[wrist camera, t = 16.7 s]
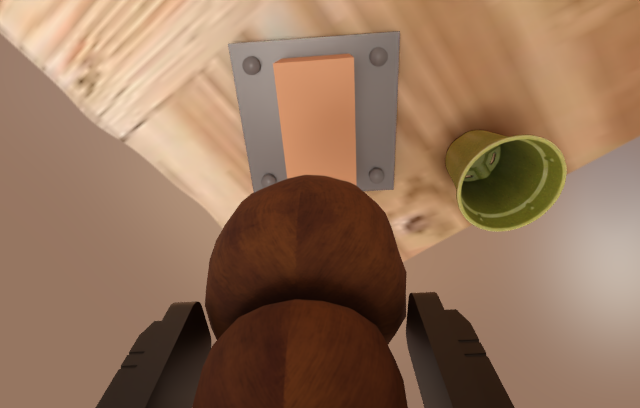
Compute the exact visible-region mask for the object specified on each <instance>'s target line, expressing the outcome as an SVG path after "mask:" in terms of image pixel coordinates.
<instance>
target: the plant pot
mask: <svg viewBox="0 0 640 408" xmlns="http://www.w3.org/2000/svg"><path fill="white" fill-rule="evenodd" d="M493 153H496V156H495V160H494V162H493V164H490V162H491V160H492V157H493ZM445 164H446V168H447V171H448V173H449V175H450V176H451V178H452V181H453V183H454V185H455V187H456V189H457V190H456V197H457V203H458V207H459V209H460V211H461V213H462V214H463V216H464V217H465V218H466V220H467V221H468V222H470V223H471V224H472V225H474V226H476V227H478V228H480V229H484V230H487V231H509V230H513V229H516V228H520V227H523V226H525V225H528V224H530V223H532V222H533V221H535V220H537V219H538V218H539V217H541V216H542V215H543V214H544V213H545V212H546V211H548V210H549V209H550V208H551V207H552V205H553V204H554V203H555V202H556V200H557V199H558V197H559V196H560V194H561V191H562V190H563V187H564V184H565V180H566V174H567V166H566V163H565V159H564V156H563V154H562V152H561V151H560V149H559V148H558V147H557V146H556V145H555V144H553V143H552V142H551V141H549V140H547V139H545V138H542V137H539V136H534V135H515V136H510V137H508V136H504V135H500V134H496V133H492V132H488V131H484V130H474V131H469V132H467V133H465V134H463V135H462V136H461V137H459V138H458V139H456V140H455V141H454V142H453V143H452V144H451V145H450V147H449V149H448V151H447V154H446V159H445ZM466 175H471V176H472V175H473V176H472V177H470V178H465V176H466Z"/></svg>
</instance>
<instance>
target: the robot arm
mask: <svg viewBox="0 0 640 408" xmlns="http://www.w3.org/2000/svg"><path fill="white" fill-rule="evenodd" d="M406 338H407V344H408V350H409V353H410V357H411V361H412V364H413V368H414V371H415V375H416V379H417V382H418V386H419V389H420V393H421V396H422V400H423V404H424V407H425V408H514V406H513V404H512V402H511V400H510V398H509V396H508V394H507V392H506V391H505V389H504V387H503V385H502V383H501V381H500V379H499V377H498V375H497V373H496V371H495V369H494V367H493V366H492V364H491V362H490V360H489V358H488V357H487V356H486V352H485V350H484V348H483V346H482V344H481V343H479V339H478V337H477V335H476V333H475V331H474V329H473V327H472V325H471V323H470V322H469V321H468V320H467V319H466V318H465V317H463V316H462V315H461V314H460V313H459V312H458V311H457V310H456V309H455V310H444V308H443V306H442V303H441V301H440V299H439V297H438V295H437V293H435V292H428V293H427V292H426V293H410V295H409V301H408V313H407V324H406ZM210 350H211V336H210V332H209V329H208V325H207V322H206V319H205V315H204V312H203V309H202V306H201V304H200V302H180V303H179V302H178V303H173V304H172V305H171V306H170V307H169V309H168V311H167V312H166V315H165V316H164V318H163V320H162V321H154V322H153V323H152V324H151V325H150V326H149V327H148V328H147V329H146V330H145V331H144V332H142V333H141V334H140V335H139V337H138V339H137V340H136V342H135V344H134V345H133V347H132V348H131V350H130V352H129V355H127V357H126V358H125V360H124V362H123V363H122V365H121V369H119V370H118V372H117V373H116V375H115V377H114V378H113V380H112V382H111V383H110V385H109V387H108V388H107V390H106V391H105V393H104V395H103V397H102V398H101V400H100V402H99V403H98V405H97V407H96V408H192V406H193V402H194V398H195V394H196V390H197V387H198V383H199V379H200V375H201V371H202V368H203V365H204V363H205V361H206V359H207V357H208V354H209V352H210Z"/></svg>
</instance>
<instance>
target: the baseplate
mask: <svg viewBox="0 0 640 408" xmlns="http://www.w3.org/2000/svg"><path fill="white" fill-rule="evenodd" d="M399 44H400V31H396V32H382V33H369V34H355V35H341V36H328V37H314V38H300V39H287V40H273V41H259V42H246V43H232V44H228V47H229V53H230V59H231V64H232V70H233V76H234V81H235V87H236V93H237V99H238V104H239V110H240V116H241V122H242V127H243V133H244V139H245V145H246V150H247V156H248V162H249V167H250V173H251V179H252V185H253V190H254V192H256V191H259V190H261V189H263V188H265V187H268V186H270V185H273V184H275V183H278V182H280V181H282V180H285V179H287V173H286V165H285V157H284V149H283V141H282V133H281V125H280V117H279V109H278V101H277V93H276V85H275V77H274V69H273V63H275V62H276V61H278V60H280V59H283V58H296V57H309V56H323V55H336V54H350V55H352V56H353V57H354V81H355V132H356V182H357V187H359V188H360V189H361V190H362V191H376V190H393V189H394V165H395V140H396V116H397V92H398V68H399Z"/></svg>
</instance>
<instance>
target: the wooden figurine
mask: <svg viewBox="0 0 640 408" xmlns="http://www.w3.org/2000/svg"><path fill="white" fill-rule="evenodd" d="M205 307H206V311H207V314H208V318H209V321H210V325H211V328H212V330H213V332H214V335H215V337H216V339H217V341H216V342H215V344H214V345H213V346H212V348H211V350H210V352H209V354H208V357H207V359H206V361H205V363H204V365H203V368H202V371H201V375H200V379H199V383H198V387H197V390H196V394H195V398H194V402H193V406H192V408H408V407H407V400H406V394H405V388H404V382H403V379H402V376H401V373H400V371H399V369H398V366H397V364H396V361H395V359H394V357H393V355H392V353H391V351H390V349H389V347H388V344H389V342H390V341H391V339H392V338H393V337H394V335H395V334H396V332H397V331H398V329H399V327H400V325H401V324H402V322H403V320H404V319H405V317H406V270H405V268H404V265H403V262H402V259H401V257H400V254H399V251H398V248H397V244H396V241H395V238H394V235H393V231H392V228H391V226H390V223H389V221H388V218H387V216H386V214H385V212H384V211H383V210H382V209H381V208H380V206H379V205H378V204H377V203H376V202H375V201H374V200H372V199H371V198H370V197H369V196H368V195H367V194H366V193H364V192H363V191H362V190H361V189H360V188H359V187H357V186H356V185H354V184H352V183H350V182H347V181H343V180H339V179H336V178H332V177H328V176H321V175H302V176H297V177H293V178H288V179H285V180H282V181H280V182H278V183H275V184H273V185H270V186H268V187H265V188H263V189H261V190H259V191H256V192H254V193H252V194H251V195H250V196H248V197H247V198H246V199H245V200H244V201H242V202H241V204H240V205H239V206H238V208H237V209H236V211H235V212H234V213H233V215H232V216H231V218H230V219H229V220H228V222H227V223H226V225H225V226H224V228H223V230H222V231H221V234H220V235H219V237H218V238H217V240H216V243H215V246H214V249H213V252H212V255H211V258H210V262H209V271H208V278H207V286H206V299H205Z"/></svg>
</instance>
